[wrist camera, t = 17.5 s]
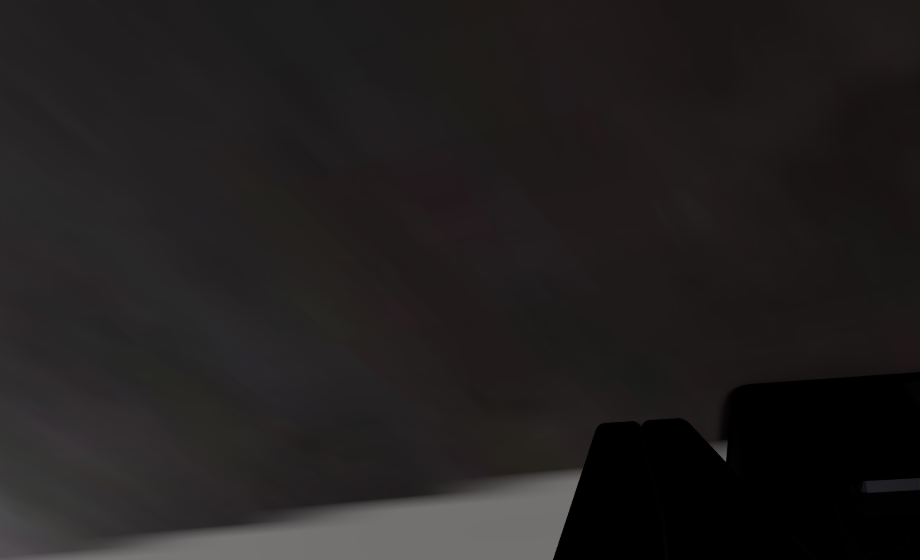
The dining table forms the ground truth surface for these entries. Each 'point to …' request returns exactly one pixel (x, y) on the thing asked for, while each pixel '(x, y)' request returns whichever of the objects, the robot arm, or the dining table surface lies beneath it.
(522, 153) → the dining table surface
